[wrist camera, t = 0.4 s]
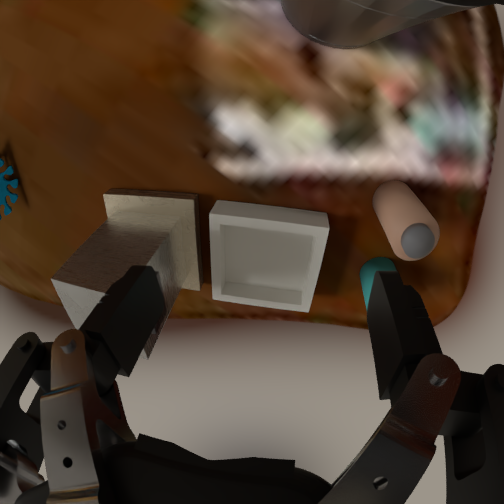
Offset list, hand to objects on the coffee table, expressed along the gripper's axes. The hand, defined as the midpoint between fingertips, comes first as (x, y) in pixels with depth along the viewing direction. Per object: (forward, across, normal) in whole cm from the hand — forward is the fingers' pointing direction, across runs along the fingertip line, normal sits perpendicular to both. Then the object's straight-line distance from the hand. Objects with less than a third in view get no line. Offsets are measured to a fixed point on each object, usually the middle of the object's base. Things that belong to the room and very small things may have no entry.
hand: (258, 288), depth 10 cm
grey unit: (+18, +15, +8) cm, 25 cm away
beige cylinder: (+18, -11, +4) cm, 22 cm away
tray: (+18, +2, +10) cm, 21 cm away
